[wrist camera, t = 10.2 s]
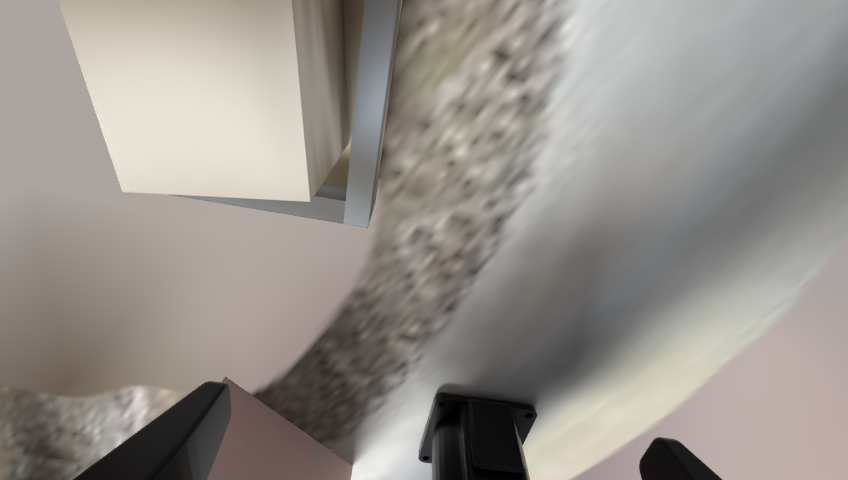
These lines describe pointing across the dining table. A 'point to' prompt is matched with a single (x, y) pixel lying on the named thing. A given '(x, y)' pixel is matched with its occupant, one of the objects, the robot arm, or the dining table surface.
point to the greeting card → (270, 447)
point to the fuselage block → (216, 92)
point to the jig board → (352, 121)
